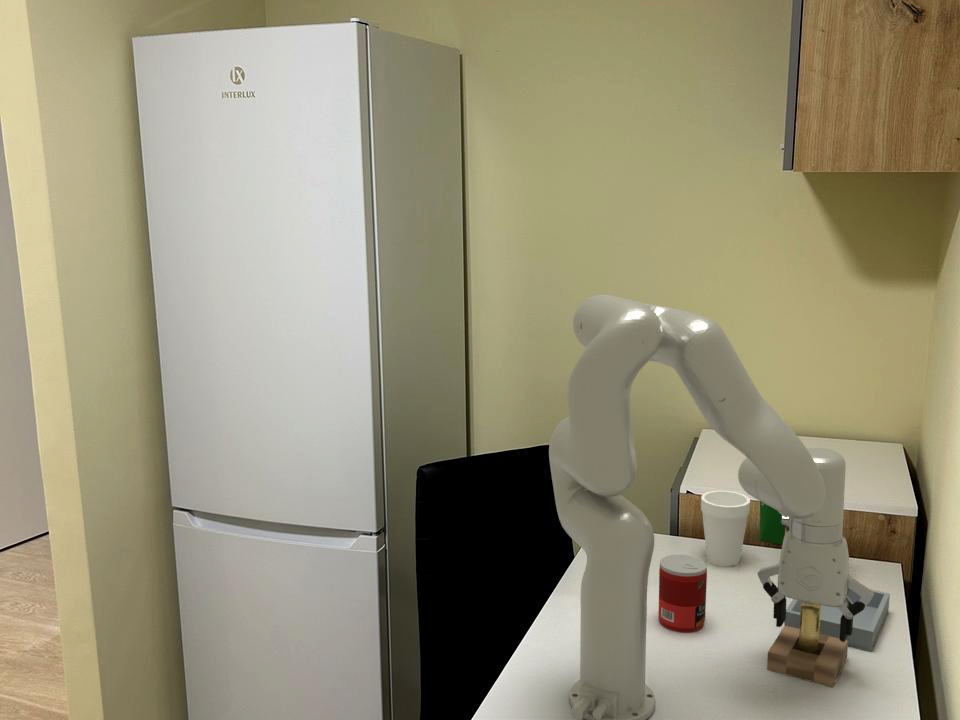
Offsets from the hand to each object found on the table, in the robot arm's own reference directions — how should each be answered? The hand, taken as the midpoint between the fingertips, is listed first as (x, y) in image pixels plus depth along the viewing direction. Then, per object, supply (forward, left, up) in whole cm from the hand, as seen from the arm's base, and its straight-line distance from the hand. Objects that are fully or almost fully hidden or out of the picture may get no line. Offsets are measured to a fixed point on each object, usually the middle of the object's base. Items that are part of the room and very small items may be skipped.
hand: (811, 630), depth 148 cm
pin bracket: (0, 0, -6) cm, 6 cm away
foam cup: (+32, +24, -6) cm, 40 cm away
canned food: (+3, +22, -6) cm, 23 cm away
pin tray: (+17, -1, -6) cm, 18 cm away
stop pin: (0, 0, -6) cm, 6 cm away
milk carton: (+49, +17, -6) cm, 52 cm away
